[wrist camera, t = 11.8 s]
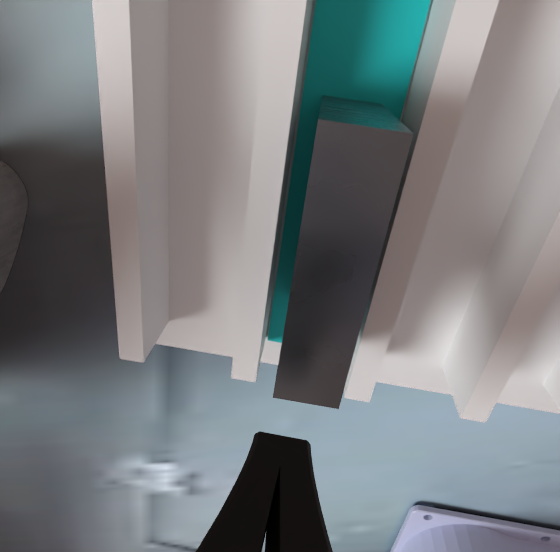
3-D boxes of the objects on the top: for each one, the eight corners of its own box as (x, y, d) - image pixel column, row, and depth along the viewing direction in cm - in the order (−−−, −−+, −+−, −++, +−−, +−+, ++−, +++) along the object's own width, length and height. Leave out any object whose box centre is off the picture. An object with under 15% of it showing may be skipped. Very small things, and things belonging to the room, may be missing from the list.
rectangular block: (381, 103, 14) (413, 133, 9) (335, 303, 18) (338, 408, 12) (322, 95, 14) (317, 118, 9) (289, 295, 18) (272, 397, 12)
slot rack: (818, -20, 12) (1018, -50, 9) (557, 399, 20) (605, 471, 17) (123, -115, 13) (44, -179, 9) (141, 327, 21) (103, 382, 17)
